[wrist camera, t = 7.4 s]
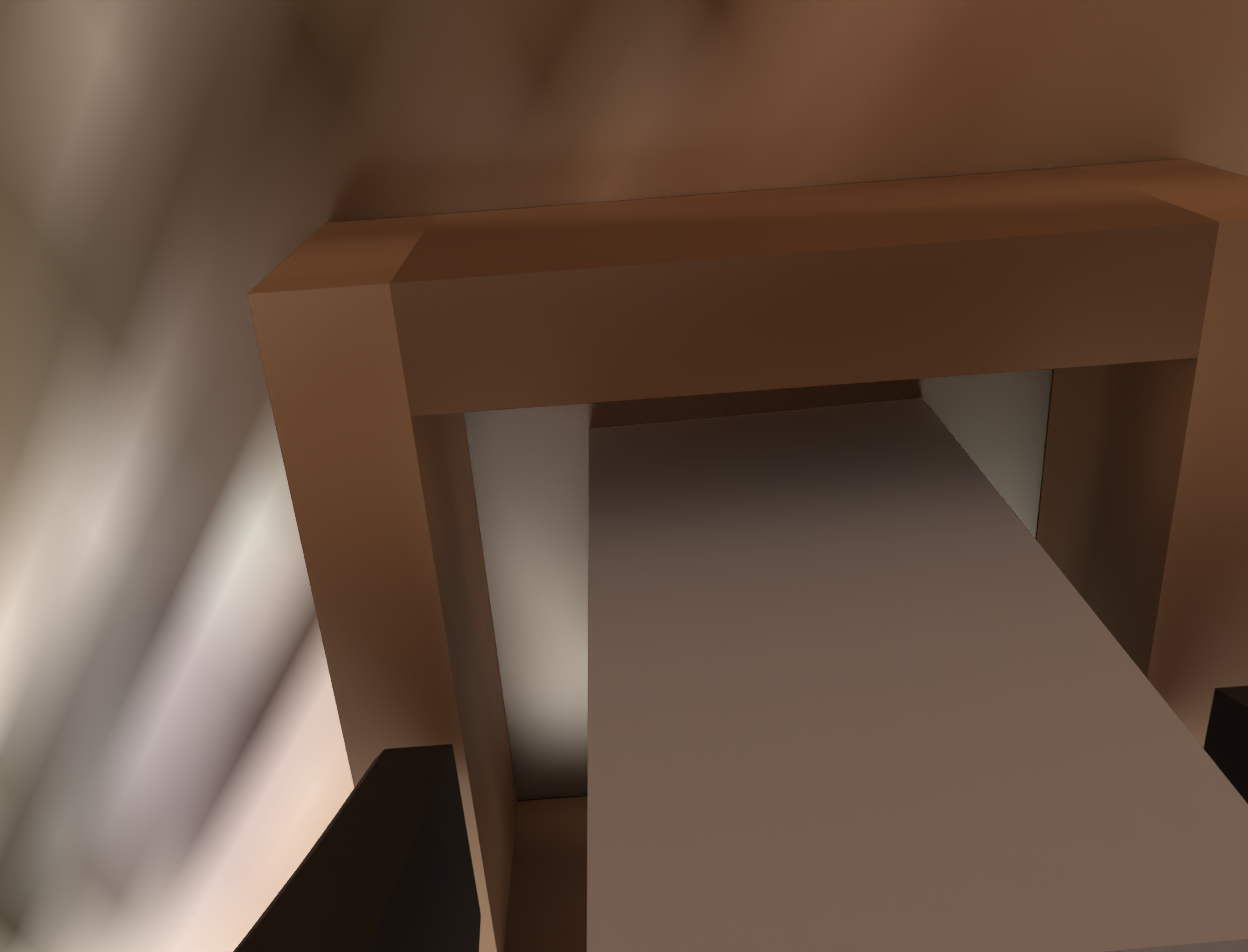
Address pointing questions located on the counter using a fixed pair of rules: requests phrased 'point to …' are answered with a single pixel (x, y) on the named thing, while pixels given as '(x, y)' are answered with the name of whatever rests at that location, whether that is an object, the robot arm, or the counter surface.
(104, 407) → the counter surface
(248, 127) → the counter surface
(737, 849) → the slate peg
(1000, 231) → the frame
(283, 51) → the counter surface
